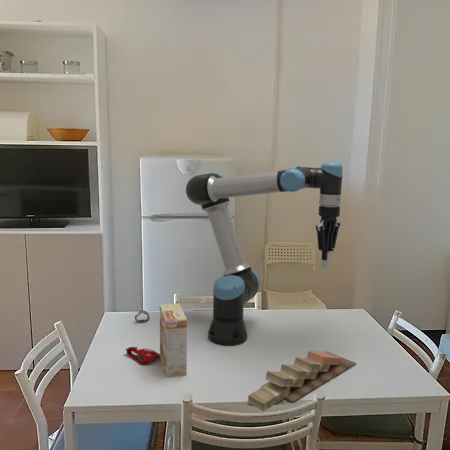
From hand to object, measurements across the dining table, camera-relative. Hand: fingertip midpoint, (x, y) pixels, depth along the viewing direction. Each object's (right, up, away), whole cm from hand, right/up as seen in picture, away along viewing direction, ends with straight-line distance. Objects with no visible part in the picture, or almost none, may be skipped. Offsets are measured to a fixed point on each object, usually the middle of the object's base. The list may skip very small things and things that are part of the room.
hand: (325, 267), depth 176 cm
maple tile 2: (-10, -32, -22) cm, 40 cm away
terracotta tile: (0, -31, -12) cm, 33 cm away
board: (-9, -34, -21) cm, 41 cm away
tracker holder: (-66, -31, -11) cm, 74 cm away
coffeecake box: (-55, -32, -17) cm, 66 cm away
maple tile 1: (-5, -31, -17) cm, 36 cm away
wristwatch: (-72, -25, +20) cm, 79 cm away
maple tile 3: (-15, -33, -27) cm, 45 cm away
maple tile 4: (-20, -33, -32) cm, 50 cm away
